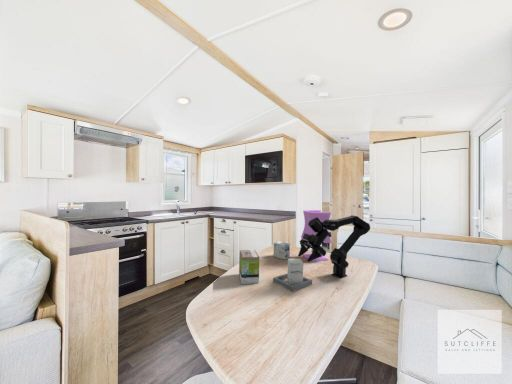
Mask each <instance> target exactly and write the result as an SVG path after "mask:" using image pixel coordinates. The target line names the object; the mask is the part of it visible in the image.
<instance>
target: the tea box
mask: <svg viewBox="0 0 512 384" xmlns="http://www.w3.org/2000/svg"><path fill="white" fill-rule="evenodd" d="M260 259H261V258H260V256H259V254H258V252H257V250H256V249H240V250H239V259H238V260H239V264H238V265H239V269H238V273H239V279H240V284H242V285H250V284H259V282H260Z"/></svg>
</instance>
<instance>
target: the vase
mask: <svg viewBox="0 0 512 384" xmlns="http://www.w3.org/2000/svg"><path fill="white" fill-rule="evenodd" d="M331 214H332V212H331V211H325V212H324V211H321V209H316V210H313V209H304V210H303V217H304V218H303V219H304V227H303V231H302V233H301V236H300V237H301V238H300V240H301V239H303V236H304V233H306V234H308V235H311V234H313V235H316V233H317V232H314V231H313V230H312V229H311V228H310V226H309V225H308V223H309V221H311V220H312V219H315V218H316V217H317V218H319V220H320V221H321V222H324V221H325V220H330V216H331ZM323 228H324V227H323ZM324 229H325V228H324ZM327 231H328V232H329V230H327ZM304 240H306V239H304ZM306 241H307V242H308V240H306ZM323 242H324V244H331V242H332V240H331V237H329V236H327V238H326V239H325V240H324V241H323ZM308 243H309V242H308ZM312 252H313V249H312V248H311V253H304V254H303V255H302V257H303V258H305V259H306V260H308V258H309V257H310V255H311V254H312ZM325 261H329V258H328V257H327V256H322V257H319V258H316V259H314V260H312V261H310V263H312V262H313V263H314V262H325Z"/></svg>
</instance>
